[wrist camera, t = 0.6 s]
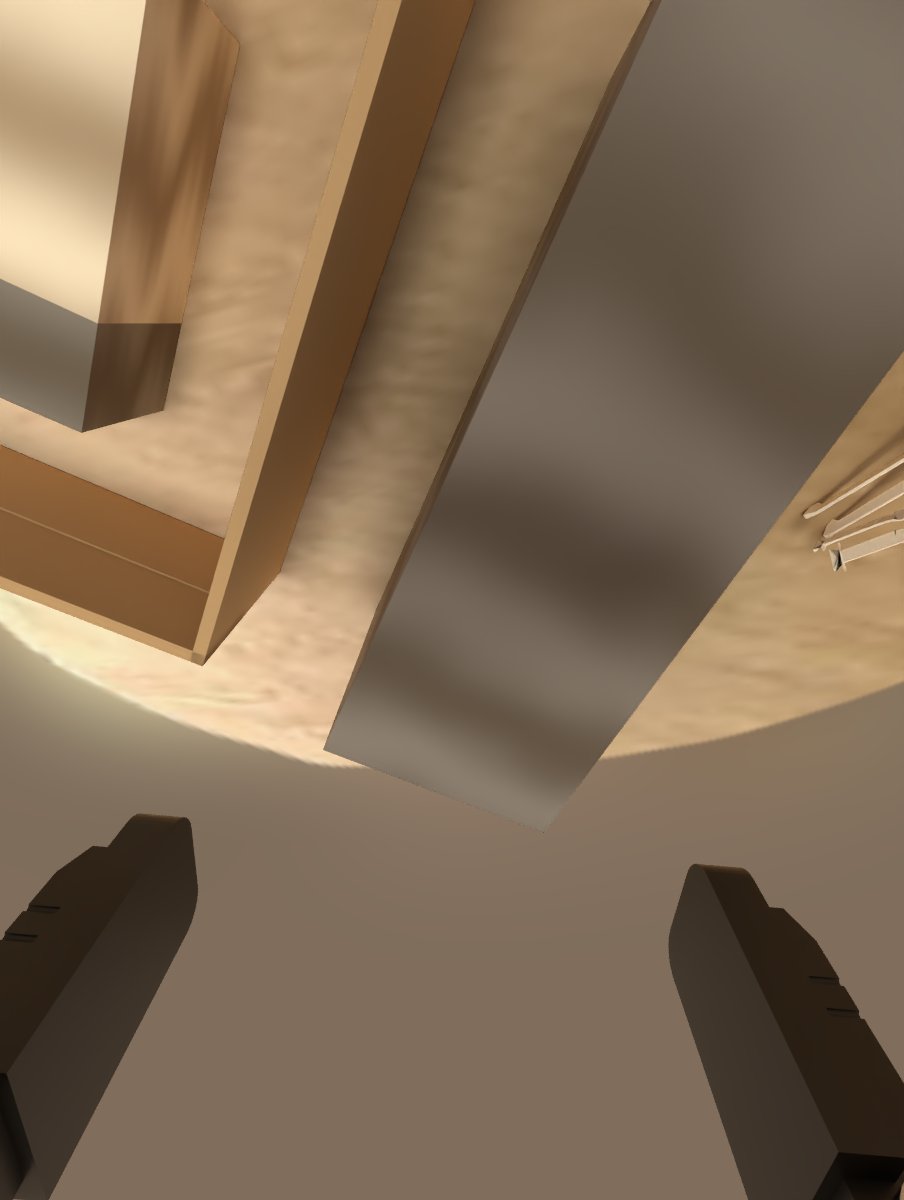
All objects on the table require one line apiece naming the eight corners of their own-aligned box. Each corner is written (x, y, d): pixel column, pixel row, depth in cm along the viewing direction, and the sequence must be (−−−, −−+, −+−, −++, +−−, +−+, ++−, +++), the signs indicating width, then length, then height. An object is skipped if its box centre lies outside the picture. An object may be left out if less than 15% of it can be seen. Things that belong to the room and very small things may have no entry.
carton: (-116, -411, 17) (-684, -1106, 9) (490, -44, 19) (493, -309, 11) (-113, 409, 27) (-366, 446, 19) (279, 573, 30) (202, 666, 22)
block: (117, -23, 20) (-18, -150, 15) (239, 44, 21) (153, -55, 15) (66, 367, 26) (-44, 378, 21) (163, 410, 27) (81, 432, 21)
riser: (612, 77, 20) (730, -152, 11) (817, 198, 22) (1094, 95, 12) (375, 611, 31) (323, 749, 21) (525, 674, 32) (543, 833, 22)
